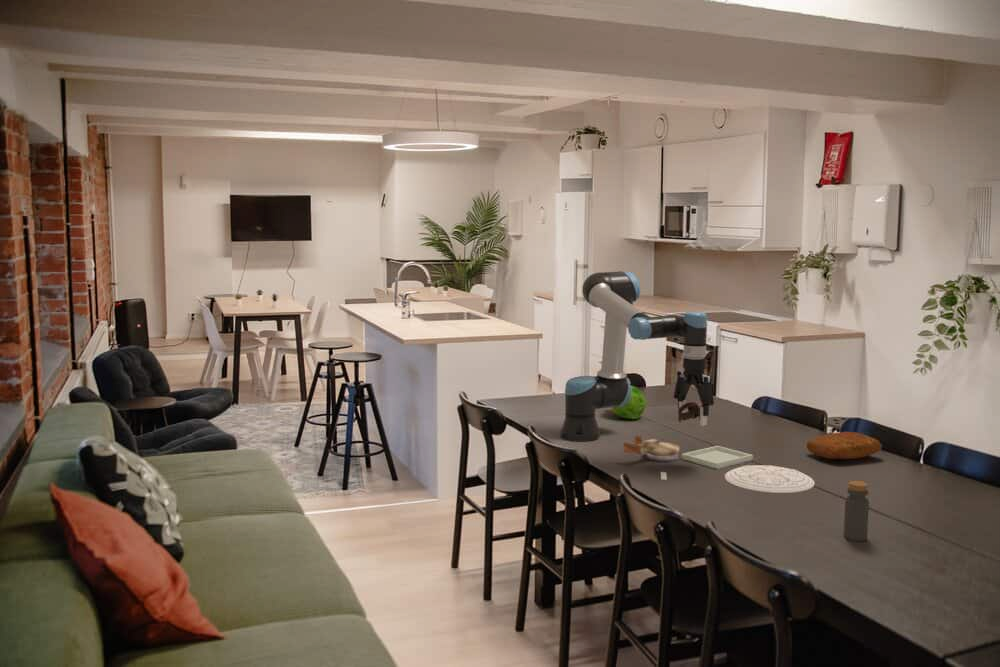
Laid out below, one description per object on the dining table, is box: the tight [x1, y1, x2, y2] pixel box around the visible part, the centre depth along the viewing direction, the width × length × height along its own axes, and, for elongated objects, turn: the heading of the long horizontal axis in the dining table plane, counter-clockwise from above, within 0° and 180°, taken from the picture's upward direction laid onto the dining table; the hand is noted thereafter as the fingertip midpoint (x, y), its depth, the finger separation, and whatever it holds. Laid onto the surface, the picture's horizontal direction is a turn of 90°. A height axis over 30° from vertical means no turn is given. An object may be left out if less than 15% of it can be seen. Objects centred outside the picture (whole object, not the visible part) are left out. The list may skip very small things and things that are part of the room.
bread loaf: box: [806, 431, 883, 460], centre depth 316 cm, size 22×17×8 cm
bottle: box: [843, 480, 870, 542], centre depth 237 cm, size 6×6×15 cm
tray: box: [681, 445, 754, 470], centre depth 314 cm, size 16×19×2 cm
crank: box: [622, 434, 681, 456], centre depth 315 cm, size 22×12×7 cm, turn 126°
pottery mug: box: [677, 401, 709, 425], centre depth 306 cm, size 12×10×8 cm
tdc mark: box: [660, 471, 668, 481], centre depth 295 cm, size 8×2×1 cm, turn 171°
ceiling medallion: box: [724, 464, 815, 494], centre depth 291 cm, size 28×28×3 cm
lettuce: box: [609, 385, 647, 420], centre depth 383 cm, size 15×22×15 cm
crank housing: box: [646, 451, 679, 462], centre depth 318 cm, size 11×11×2 cm
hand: (692, 422), depth 305 cm, fingers closed on pottery mug, 9 cm apart
